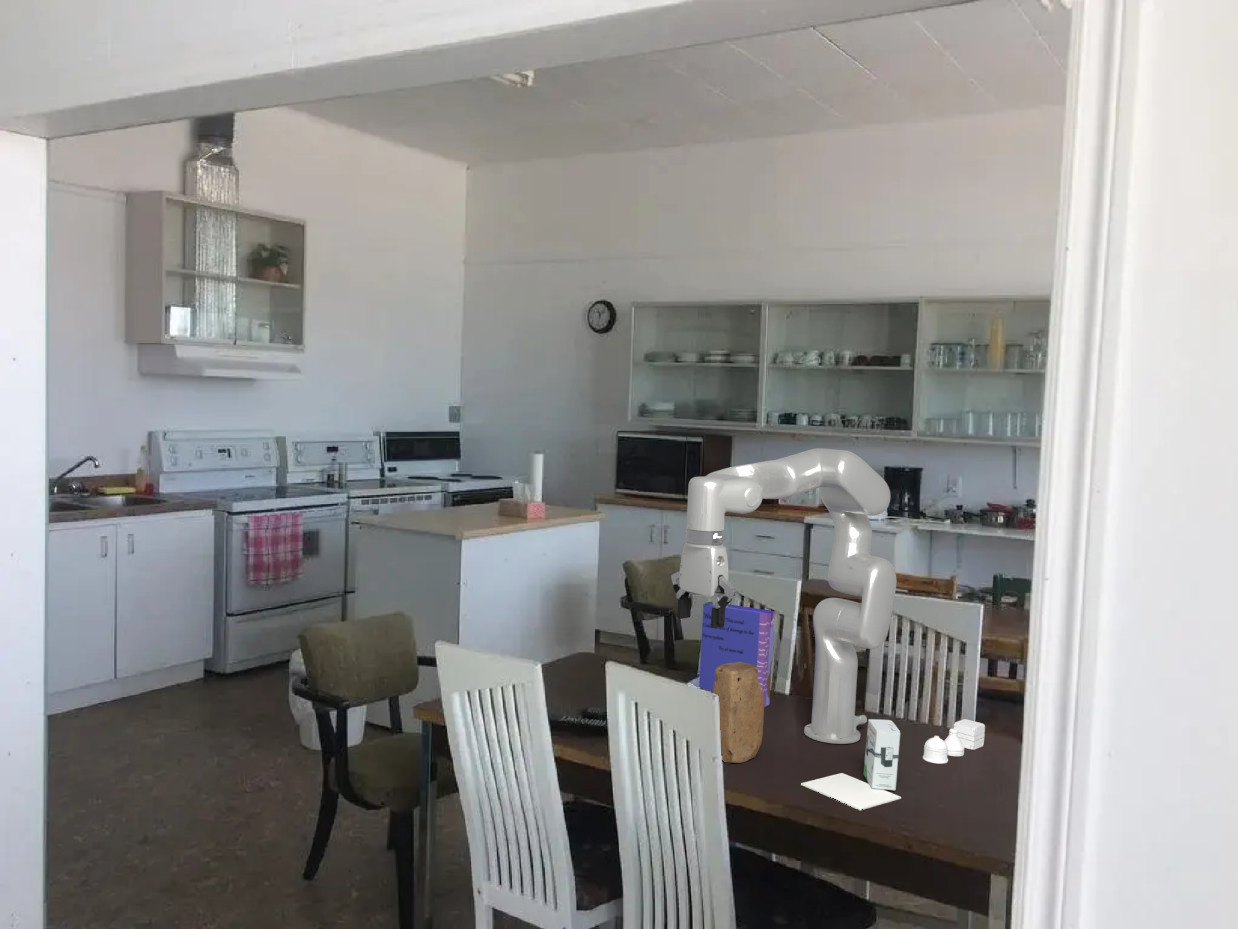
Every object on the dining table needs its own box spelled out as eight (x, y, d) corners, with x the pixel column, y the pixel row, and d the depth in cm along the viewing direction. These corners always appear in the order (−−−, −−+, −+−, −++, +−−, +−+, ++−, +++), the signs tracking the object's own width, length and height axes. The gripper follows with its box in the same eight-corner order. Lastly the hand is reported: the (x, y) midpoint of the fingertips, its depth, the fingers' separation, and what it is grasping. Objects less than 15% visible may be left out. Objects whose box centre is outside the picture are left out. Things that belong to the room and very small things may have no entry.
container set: (962, 741, 242) (964, 718, 241) (984, 747, 238) (985, 724, 238) (918, 759, 228) (919, 734, 227) (940, 766, 224) (941, 741, 224)
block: (727, 767, 216) (732, 671, 215) (704, 756, 223) (709, 663, 221) (766, 758, 223) (771, 665, 221) (742, 748, 229) (747, 657, 228)
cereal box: (769, 705, 263) (774, 610, 262) (761, 709, 259) (767, 613, 258) (706, 692, 272) (711, 600, 271) (698, 696, 268) (703, 603, 267)
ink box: (862, 774, 215) (867, 717, 215) (886, 777, 215) (891, 719, 215) (871, 789, 206) (876, 729, 206) (896, 791, 206) (901, 731, 206)
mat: (841, 774, 215) (841, 773, 215) (901, 798, 203) (901, 797, 203) (800, 784, 208) (801, 783, 208) (859, 810, 196) (859, 809, 196)
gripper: (749, 543, 207) (744, 629, 208) (688, 532, 220) (684, 612, 221) (722, 545, 202) (717, 633, 203) (661, 533, 215) (657, 616, 216)
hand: (700, 622), depth 212 cm, fingers open, 9 cm apart
